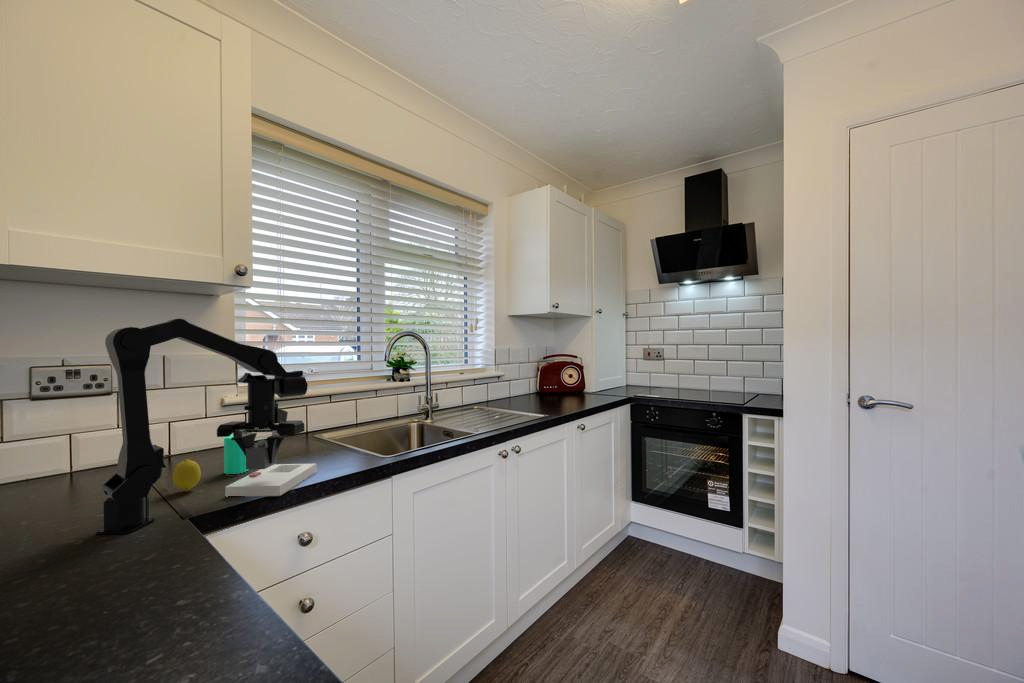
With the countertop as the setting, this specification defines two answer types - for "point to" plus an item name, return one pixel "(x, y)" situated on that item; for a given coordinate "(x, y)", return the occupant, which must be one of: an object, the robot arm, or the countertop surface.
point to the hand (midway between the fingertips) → (261, 463)
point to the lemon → (186, 475)
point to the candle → (233, 457)
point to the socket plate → (271, 480)
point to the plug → (258, 456)
